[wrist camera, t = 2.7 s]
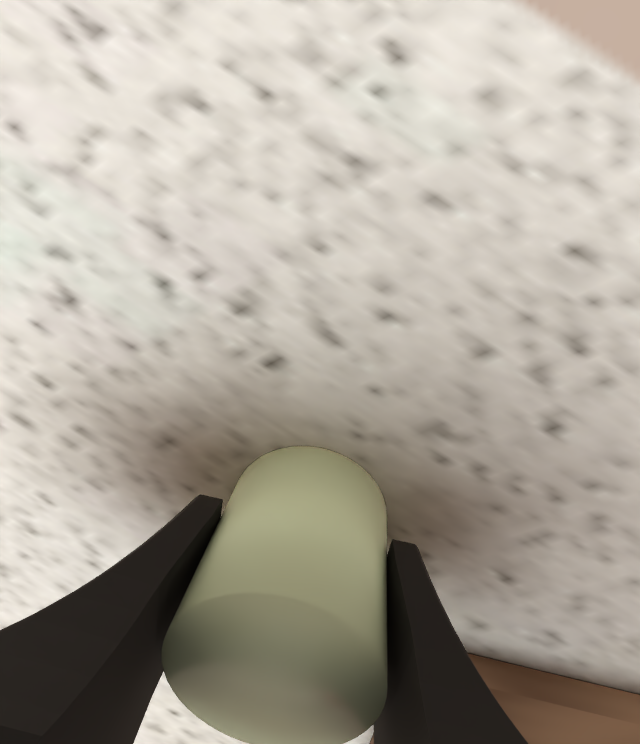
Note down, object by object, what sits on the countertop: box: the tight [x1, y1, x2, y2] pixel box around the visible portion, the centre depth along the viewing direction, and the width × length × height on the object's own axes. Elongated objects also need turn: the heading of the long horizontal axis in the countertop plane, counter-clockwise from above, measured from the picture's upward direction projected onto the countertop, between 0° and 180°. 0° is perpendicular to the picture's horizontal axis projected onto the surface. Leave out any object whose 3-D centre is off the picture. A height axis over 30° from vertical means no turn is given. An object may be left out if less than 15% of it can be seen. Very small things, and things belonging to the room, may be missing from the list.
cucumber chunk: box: [162, 446, 387, 744], centre depth 12 cm, size 4×4×5 cm
